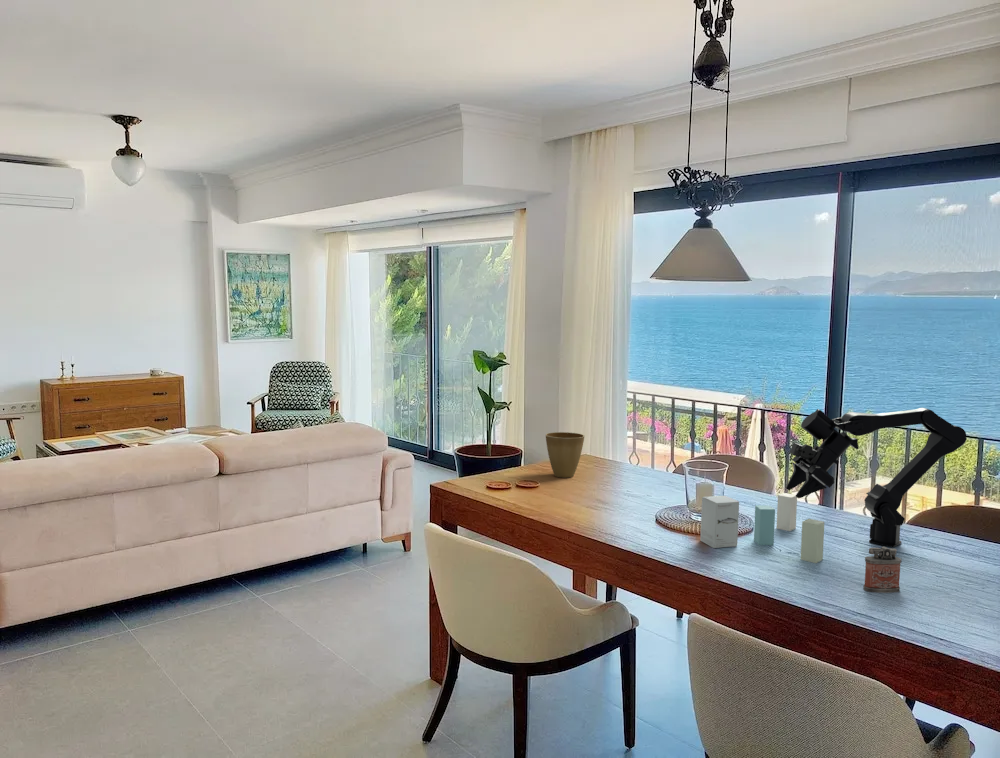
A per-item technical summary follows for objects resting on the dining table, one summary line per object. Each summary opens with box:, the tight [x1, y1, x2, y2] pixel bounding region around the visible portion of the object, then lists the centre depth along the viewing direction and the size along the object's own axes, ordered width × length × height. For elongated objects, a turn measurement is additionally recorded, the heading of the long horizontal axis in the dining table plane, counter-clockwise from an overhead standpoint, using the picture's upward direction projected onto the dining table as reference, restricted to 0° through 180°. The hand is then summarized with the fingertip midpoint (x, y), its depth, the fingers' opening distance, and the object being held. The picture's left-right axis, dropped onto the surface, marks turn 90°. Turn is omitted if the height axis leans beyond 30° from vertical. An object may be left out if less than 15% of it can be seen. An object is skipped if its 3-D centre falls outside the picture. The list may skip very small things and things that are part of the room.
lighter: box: [863, 546, 902, 594], centre depth 169 cm, size 8×3×10 cm, turn 92°
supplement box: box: [699, 495, 740, 549], centre depth 202 cm, size 7×7×13 cm
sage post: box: [800, 518, 825, 564], centre depth 190 cm, size 4×4×10 cm
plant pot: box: [545, 431, 585, 479], centre depth 284 cm, size 15×15×16 cm
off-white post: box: [776, 492, 798, 532], centre depth 217 cm, size 4×4×10 cm
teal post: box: [753, 505, 776, 546], centre depth 203 cm, size 4×4×10 cm
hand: (792, 493), depth 206 cm, fingers open, 9 cm apart
